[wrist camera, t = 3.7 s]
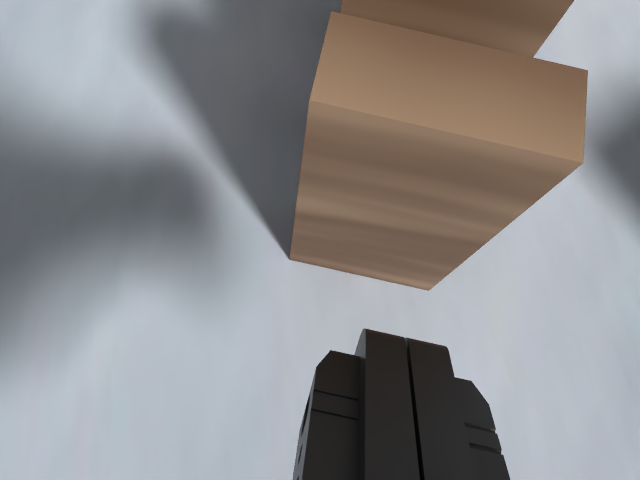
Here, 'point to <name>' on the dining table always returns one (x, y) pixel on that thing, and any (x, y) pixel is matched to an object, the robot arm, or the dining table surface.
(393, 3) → the tile
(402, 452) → the robot arm
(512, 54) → the tile
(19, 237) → the dining table surface
